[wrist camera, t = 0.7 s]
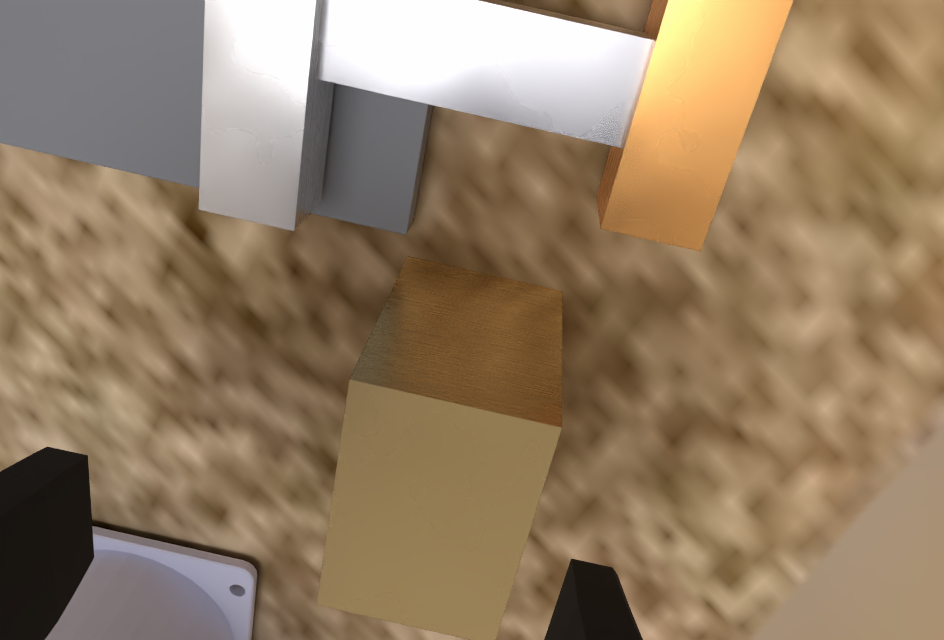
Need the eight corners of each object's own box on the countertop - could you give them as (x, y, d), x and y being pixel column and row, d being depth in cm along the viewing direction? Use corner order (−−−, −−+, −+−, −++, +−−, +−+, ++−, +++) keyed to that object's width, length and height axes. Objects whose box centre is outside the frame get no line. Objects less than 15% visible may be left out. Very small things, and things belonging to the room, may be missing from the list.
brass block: (510, 473, 22) (493, 645, 17) (375, 442, 22) (317, 604, 17) (562, 290, 19) (561, 427, 14) (407, 255, 19) (349, 379, 14)
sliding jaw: (664, 277, 17) (676, 317, 16) (235, 180, 17) (198, 209, 16) (805, -121, 14) (840, -128, 12) (258, -244, 14) (213, -269, 12)
